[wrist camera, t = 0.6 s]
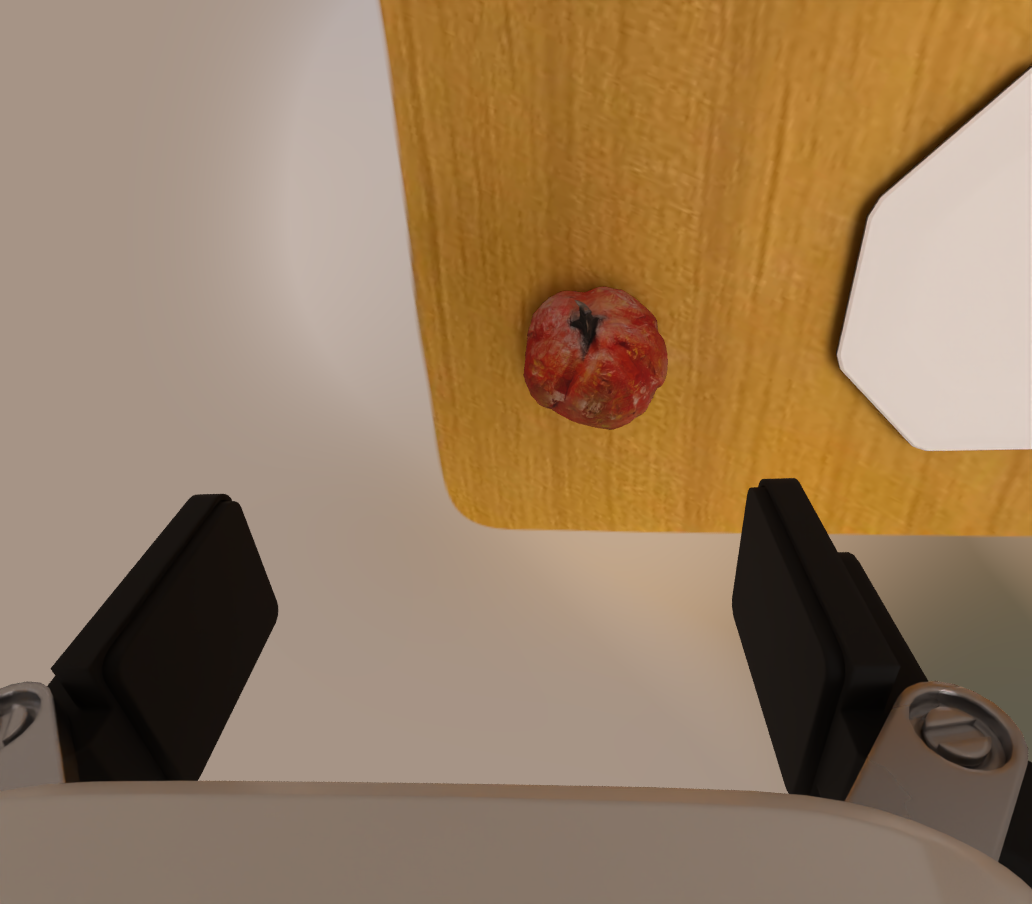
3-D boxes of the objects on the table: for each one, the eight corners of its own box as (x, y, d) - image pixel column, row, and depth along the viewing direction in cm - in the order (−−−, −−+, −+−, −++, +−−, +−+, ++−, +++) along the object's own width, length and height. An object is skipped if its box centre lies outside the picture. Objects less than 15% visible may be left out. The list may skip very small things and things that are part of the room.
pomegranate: (658, 354, 39) (690, 248, 30) (647, 467, 36) (678, 390, 27) (537, 340, 40) (531, 233, 30) (518, 449, 37) (505, 370, 28)
